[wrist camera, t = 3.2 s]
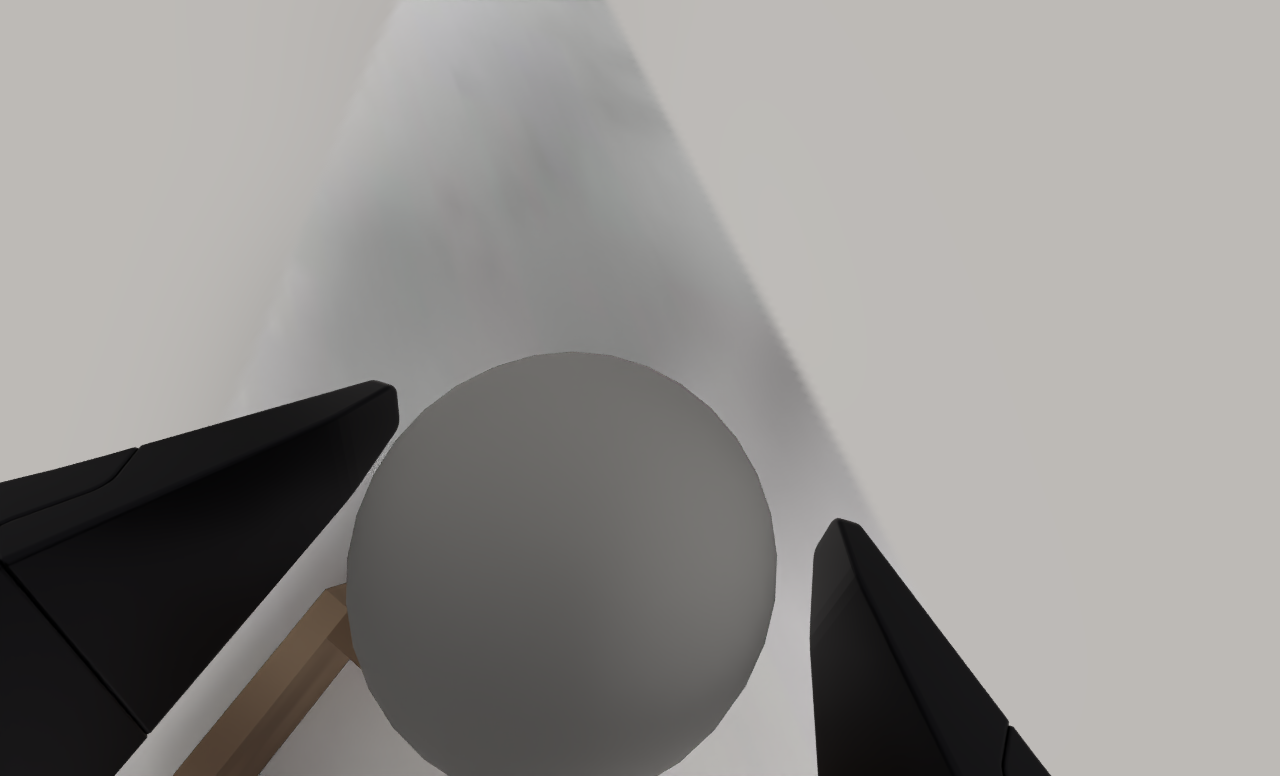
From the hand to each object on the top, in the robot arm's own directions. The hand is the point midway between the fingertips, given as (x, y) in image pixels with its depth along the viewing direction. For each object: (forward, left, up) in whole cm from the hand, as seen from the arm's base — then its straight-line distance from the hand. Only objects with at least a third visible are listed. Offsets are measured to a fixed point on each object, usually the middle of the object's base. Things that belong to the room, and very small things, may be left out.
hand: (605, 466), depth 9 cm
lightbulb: (-1, 0, -7) cm, 7 cm away
